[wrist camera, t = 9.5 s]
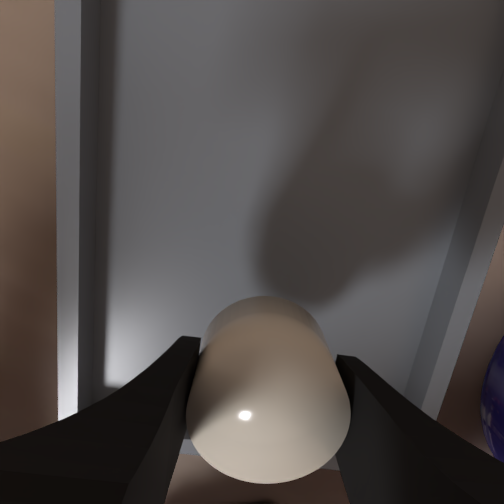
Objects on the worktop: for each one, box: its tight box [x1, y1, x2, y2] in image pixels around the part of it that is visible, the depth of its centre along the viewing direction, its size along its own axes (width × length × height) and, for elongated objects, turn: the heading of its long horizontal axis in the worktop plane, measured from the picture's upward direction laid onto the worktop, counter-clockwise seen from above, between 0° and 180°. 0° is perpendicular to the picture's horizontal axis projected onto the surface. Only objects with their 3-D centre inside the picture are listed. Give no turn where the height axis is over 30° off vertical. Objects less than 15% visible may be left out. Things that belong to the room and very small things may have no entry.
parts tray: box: [55, 0, 504, 471], centre depth 14 cm, size 24×16×2 cm, turn 172°
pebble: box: [186, 296, 351, 484], centre depth 11 cm, size 4×4×3 cm
